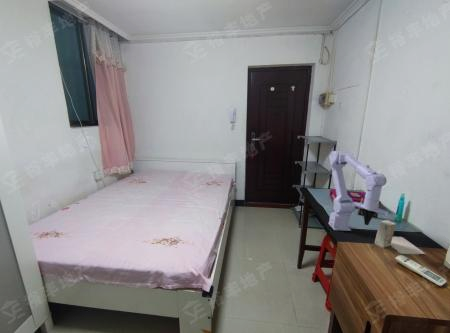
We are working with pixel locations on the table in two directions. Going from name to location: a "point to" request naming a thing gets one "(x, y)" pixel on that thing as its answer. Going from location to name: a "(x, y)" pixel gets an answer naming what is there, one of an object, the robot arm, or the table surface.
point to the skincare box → (385, 233)
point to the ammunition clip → (362, 209)
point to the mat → (404, 246)
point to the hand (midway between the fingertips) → (366, 224)
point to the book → (352, 194)
